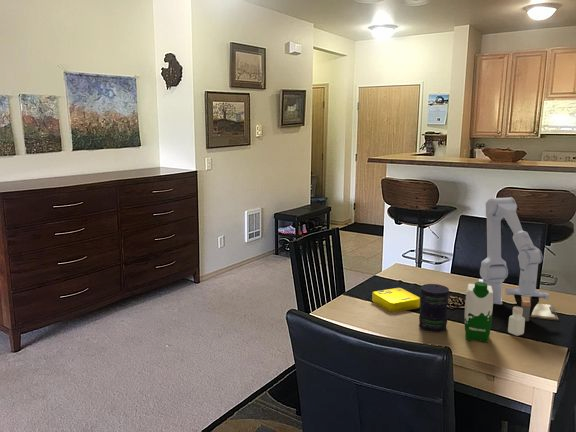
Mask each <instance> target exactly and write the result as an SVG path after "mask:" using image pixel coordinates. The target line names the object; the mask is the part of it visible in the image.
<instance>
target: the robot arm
mask: <svg viewBox="0 0 576 432" xmlns="http://www.w3.org/2000/svg"><path fill="white" fill-rule="evenodd" d="M517 209H518V205H517V203H516V200H515V199H514V198H513V197H512V196H509V197H490V198H489V199H488V200H486V202H485V218H486V246H487V247H486V249H487V251H486V253H487V255H486V256H487V257H485V259H483V260H481V262H480V269H479V275H480V278H479V279H478V282H482V283H486V284H487V285H488V286H491V287H492V290H493V305H494V304H495V305H500V306H501V305H503V299H502V290H503V282H505V279H507V278H508V275H509V270H508V266H507V261H505V260H504V259H503V258H502V230H501V229H502V222H501V221H502V220H503V219H505V221H506V223H507V225H508V226H509V228H510V230H511V232H512V233H513V236H512V241H513V243H514V244H515V247H516V250H517V251H518V255H517V260H518V262H519V263H518V264H519V269H520V272H519V281H518V288H505V291H504V293H505V295H506V296H509V295H510V296H514V297H513V298H514V300H515V302H516V305H517V306H516V307H521V303H522V300H523V299H522V297H526V298H527V297H528V298H529V299H530V300H529V301H530V303H531V306H530V316H531V315H532V312H533V310H534V308H535V306H536V305H537V304H538V303H539V302H540V299H545V300H547V301H548V300H549V298H550V297H549V296H550V294H549V292H544V291H543V292H542V291H537V290H536V288H537V279H538V270H539V264H541V263H542V262H543V253H542V250H540V249H539V248H538V247H537V246H535V245H534V243H533V241H532V239H531V237H530V235H529V232H528V231H525V230H523V228H522V224H521V222H520V219H519V217H518V214H517Z"/></svg>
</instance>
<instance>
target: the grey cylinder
mask: <svg viewBox="0 0 576 432" xmlns="http://www.w3.org/2000/svg"><path fill="white" fill-rule="evenodd" d="M530 306H531V303H530V300H525V299H524V300H523V299H522V303H521V308H523V314H522V317H524V318H525V322H529V321H530V317H529V316H530Z"/></svg>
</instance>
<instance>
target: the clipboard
mask: <svg viewBox="0 0 576 432" xmlns="http://www.w3.org/2000/svg"><path fill="white" fill-rule="evenodd" d="M529 318H532V319H533V318H534V319H540V320H550V321H557V322H558V321H560V319H559V317H558V315H557V311H556V308H555V307H554V306H553V304H550V303H549V304H546V303H539V302H538V304H537V305H536V306H535V308H534V310H533V312H532V315H531V316H529Z"/></svg>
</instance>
